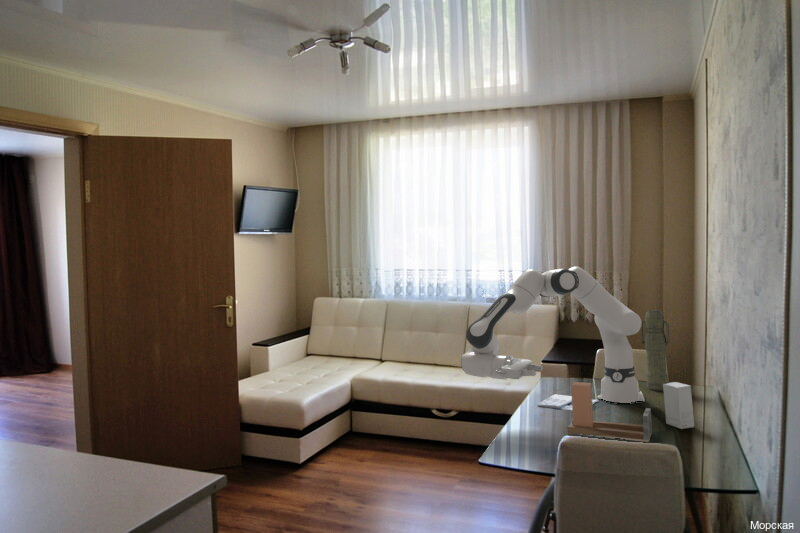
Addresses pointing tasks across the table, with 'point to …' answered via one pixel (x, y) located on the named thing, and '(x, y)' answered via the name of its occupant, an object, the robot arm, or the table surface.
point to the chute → (617, 429)
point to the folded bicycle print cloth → (559, 402)
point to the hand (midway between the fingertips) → (538, 370)
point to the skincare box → (678, 405)
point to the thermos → (655, 349)
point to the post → (582, 404)
